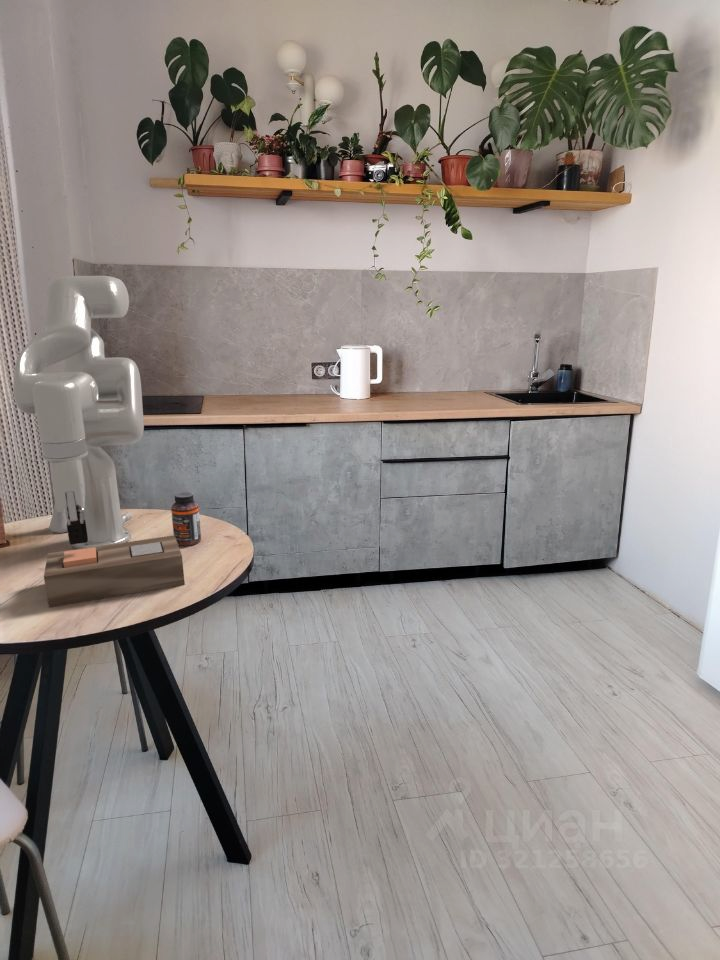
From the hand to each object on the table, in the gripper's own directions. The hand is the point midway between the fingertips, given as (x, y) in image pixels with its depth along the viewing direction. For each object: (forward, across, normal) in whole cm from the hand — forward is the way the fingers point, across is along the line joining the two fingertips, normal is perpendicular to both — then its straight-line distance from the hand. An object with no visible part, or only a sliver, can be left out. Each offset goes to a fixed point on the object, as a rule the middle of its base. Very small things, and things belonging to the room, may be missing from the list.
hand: (78, 541), depth 127 cm
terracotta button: (+7, +1, 0) cm, 7 cm away
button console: (+9, +1, +6) cm, 11 cm away
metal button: (+8, +1, +12) cm, 14 cm away
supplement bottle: (+10, -16, +22) cm, 29 cm away
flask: (+11, -38, -5) cm, 40 cm away
